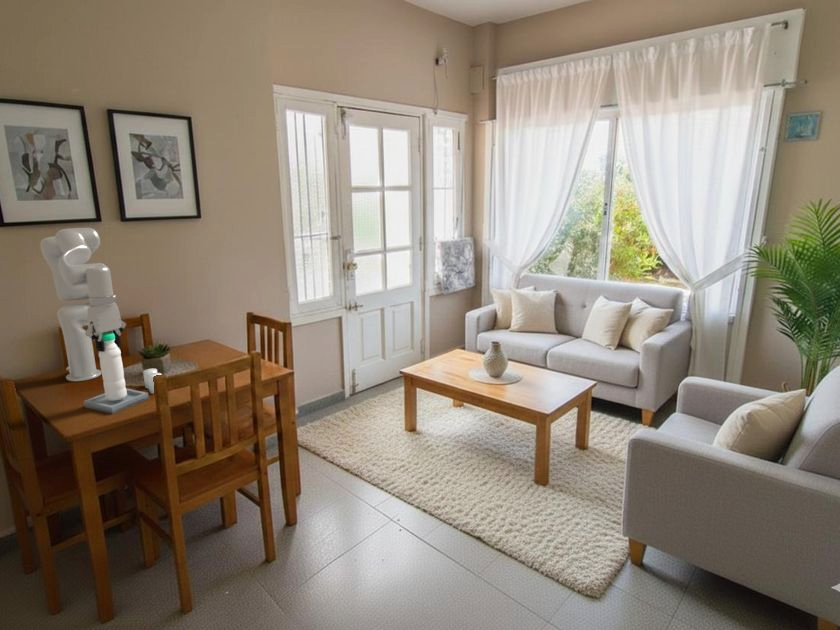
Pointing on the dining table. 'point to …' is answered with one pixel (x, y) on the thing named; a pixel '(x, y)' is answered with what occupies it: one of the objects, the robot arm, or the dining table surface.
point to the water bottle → (112, 369)
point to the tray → (116, 401)
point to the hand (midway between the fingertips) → (109, 348)
